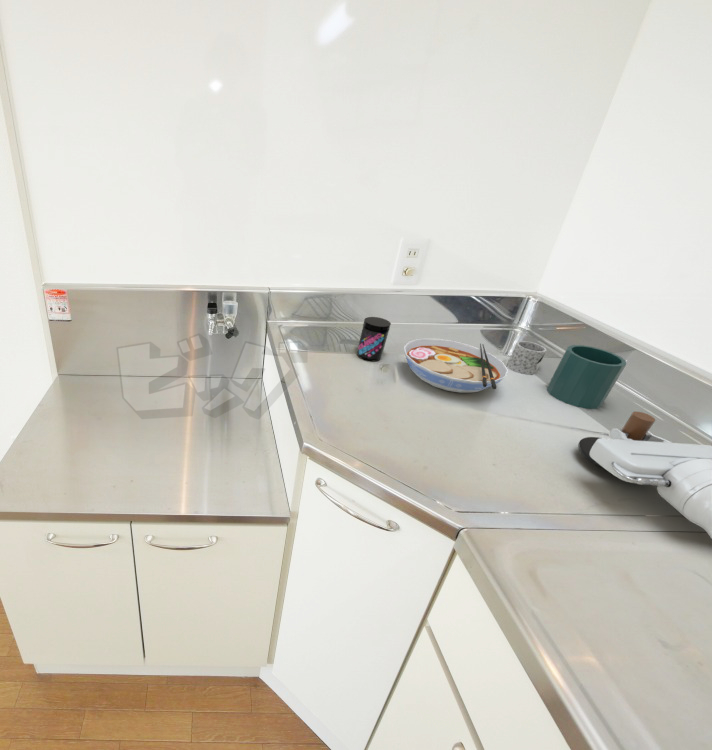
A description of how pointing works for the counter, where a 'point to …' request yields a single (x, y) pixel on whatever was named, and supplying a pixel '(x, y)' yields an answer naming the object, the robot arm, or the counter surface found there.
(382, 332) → the supplement container
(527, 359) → the mug
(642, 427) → the lid
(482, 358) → the ramen bowl
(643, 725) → the counter surface
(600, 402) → the teal faceted tumbler
